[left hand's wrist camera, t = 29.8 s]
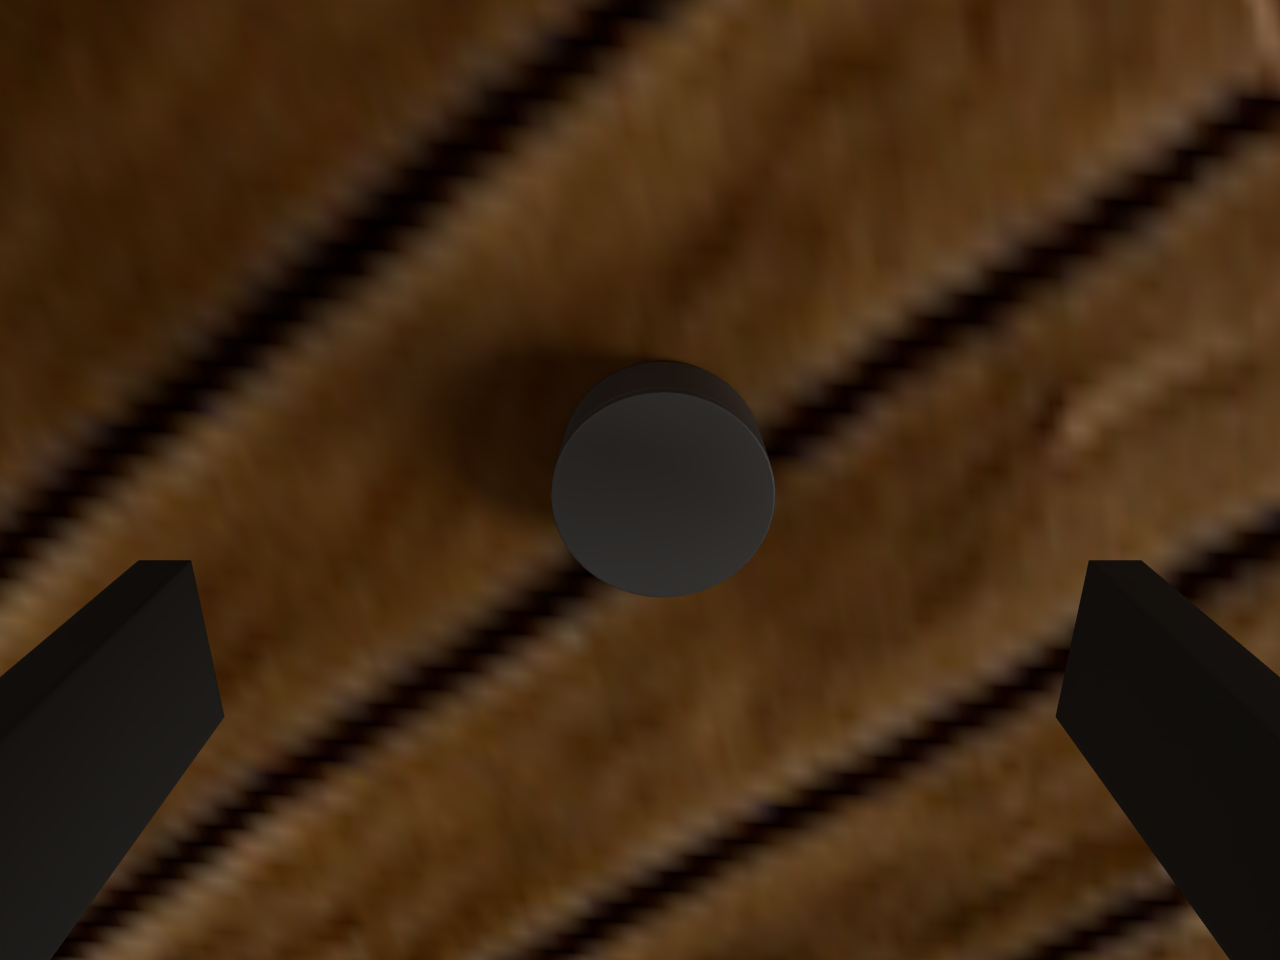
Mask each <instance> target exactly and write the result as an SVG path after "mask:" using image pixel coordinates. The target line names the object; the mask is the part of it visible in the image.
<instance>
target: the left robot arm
mask: <svg viewBox="0 0 1280 960" xmlns="http://www.w3.org/2000/svg"><path fill="white" fill-rule="evenodd" d="M223 718H224V713H223V708H222V703H221V699H220V694H219V689H218V685H217V680H216V675H215V671H214V666H213V661H212V656H211V652H210V647H209V642H208V638H207V633H206V628H205V624H204V619H203V614H202V609H201V605H200V600H199V595H198V591H197V586H196V581H195V577H194V572H193V567H192V562H191V560H139V561H137V562H136V563H135V564H134V565H133V566H131V567H130V568H129V569H128V570H127V571H126V572H124V573H123V574H122V575H121V576H120V577H118V578H117V579H116V580H115V581H114V582H112V583H111V584H110V585H109V586H108V587H107V588H105V589H104V590H103V591H102V592H101V593H99V594H98V595H97V596H96V597H95V598H94V599H92V600H91V601H90V602H89V603H88V604H86V605H85V606H84V607H83V608H82V609H80V610H79V611H78V612H77V613H76V614H75V615H73V616H72V617H71V618H70V619H69V620H67V621H66V622H65V623H64V624H63V625H62V626H60V627H59V628H58V629H57V630H56V631H54V632H53V633H52V634H51V635H50V636H48V637H47V638H46V639H45V640H44V641H43V642H41V643H40V644H39V645H38V646H37V647H35V648H34V649H33V650H32V651H31V652H30V653H28V654H27V655H26V656H25V657H24V658H22V659H21V660H20V661H19V662H18V663H16V664H15V665H14V666H13V667H12V668H11V669H9V670H8V671H7V672H6V673H5V674H3V675H2V676H1V677H0V960H50V959H51V958H52V956H53V955H54V954H55V952H56V951H57V949H58V948H59V947H60V945H61V944H62V942H63V941H64V940H65V938H66V937H67V935H68V934H69V933H70V931H71V930H72V929H73V927H74V926H75V924H76V923H77V922H78V920H79V919H80V917H81V916H82V915H83V913H84V912H85V910H86V909H87V908H88V906H89V905H90V903H91V902H92V901H93V899H94V898H95V896H96V895H97V894H98V892H99V891H100V889H101V888H102V887H103V885H104V884H105V883H106V881H107V880H108V878H109V877H110V876H111V874H112V873H113V871H114V870H115V869H116V867H117V866H118V864H119V863H120V862H121V860H122V859H123V857H124V856H125V855H126V853H127V852H128V850H129V849H130V848H131V846H132V845H133V843H134V842H135V841H136V839H137V838H138V837H139V835H140V834H141V832H142V831H143V830H144V828H145V827H146V825H147V824H148V823H149V821H150V820H151V818H152V817H153V816H154V814H155V813H156V811H157V810H158V809H159V807H160V806H161V804H162V803H163V802H164V800H165V799H166V797H167V796H168V795H169V793H170V792H171V791H172V789H173V788H174V786H175V785H176V784H177V782H178V781H179V779H180V778H181V777H182V775H183V774H184V772H185V771H186V770H187V768H188V767H189V765H190V764H191V763H192V761H193V760H194V758H195V757H196V756H197V754H198V753H199V751H200V750H201V749H202V747H203V746H204V745H205V743H206V742H207V740H208V739H209V738H210V736H211V735H212V733H213V732H214V731H215V729H216V728H217V726H218V725H219V724H220V722H221V721H222V719H223ZM1056 718H1057V719H1058V721H1059V722H1060V724H1061V725H1062V726H1063V728H1064V729H1065V731H1066V732H1067V733H1068V735H1069V736H1070V738H1071V739H1072V740H1073V742H1074V743H1075V745H1076V746H1077V747H1078V749H1079V750H1080V751H1081V753H1082V754H1083V756H1084V757H1085V758H1086V760H1087V761H1088V763H1089V764H1090V765H1091V767H1092V768H1093V770H1094V771H1095V772H1096V774H1097V775H1098V777H1099V778H1100V779H1101V781H1102V782H1103V784H1104V785H1105V786H1106V788H1107V789H1108V791H1109V792H1110V793H1111V795H1112V796H1113V797H1114V799H1115V800H1116V802H1117V803H1118V804H1119V806H1120V807H1121V809H1122V810H1123V811H1124V813H1125V814H1126V816H1127V817H1128V818H1129V820H1130V821H1131V823H1132V824H1133V825H1134V827H1135V828H1136V830H1137V831H1138V832H1139V834H1140V835H1141V837H1142V838H1143V839H1144V841H1145V842H1146V843H1147V845H1148V846H1149V848H1150V849H1151V850H1152V852H1153V853H1154V855H1155V856H1156V857H1157V859H1158V860H1159V862H1160V863H1161V864H1162V866H1163V867H1164V869H1165V870H1166V871H1167V873H1168V874H1169V876H1170V877H1171V878H1172V880H1173V881H1174V883H1175V884H1176V885H1177V887H1178V888H1179V889H1180V891H1181V892H1182V894H1183V895H1184V896H1185V898H1186V899H1187V901H1188V902H1189V903H1190V905H1191V906H1192V908H1193V909H1194V910H1195V912H1196V913H1197V915H1198V916H1199V917H1200V919H1201V920H1202V922H1203V923H1204V924H1205V926H1206V927H1207V929H1208V930H1209V931H1210V933H1211V934H1212V935H1213V937H1214V938H1215V940H1216V941H1217V942H1218V944H1219V945H1220V947H1221V948H1222V949H1223V951H1224V952H1225V954H1226V955H1227V956H1228V958H1229V959H1230V960H1280V677H1279V676H1278V675H1277V674H1275V673H1274V672H1273V671H1272V670H1271V669H1269V668H1268V667H1267V666H1266V665H1265V664H1264V663H1262V662H1261V661H1260V660H1259V659H1258V658H1256V657H1255V656H1254V655H1253V654H1252V653H1250V652H1249V651H1248V650H1247V649H1246V648H1245V647H1243V646H1242V645H1241V644H1240V643H1239V642H1237V641H1236V640H1235V639H1234V638H1233V637H1232V636H1230V635H1229V634H1228V633H1227V632H1226V631H1224V630H1223V629H1222V628H1221V627H1220V626H1218V625H1217V624H1216V623H1215V622H1214V621H1213V620H1211V619H1210V618H1209V617H1208V616H1207V615H1205V614H1204V613H1203V612H1202V611H1201V610H1200V609H1198V608H1197V607H1196V606H1195V605H1194V604H1192V603H1191V602H1190V601H1189V600H1188V599H1186V598H1185V597H1184V596H1183V595H1182V594H1181V593H1179V592H1178V591H1177V590H1176V589H1175V588H1173V587H1172V586H1171V585H1170V584H1169V583H1168V582H1166V581H1165V580H1164V579H1163V578H1162V577H1160V576H1159V575H1158V574H1157V573H1156V572H1154V571H1153V570H1152V569H1151V568H1150V567H1149V566H1147V565H1146V564H1145V563H1144V562H1143V561H1141V560H1089V562H1088V567H1087V572H1086V577H1085V581H1084V586H1083V591H1082V595H1081V600H1080V605H1079V609H1078V614H1077V619H1076V624H1075V628H1074V633H1073V638H1072V642H1071V647H1070V652H1069V656H1068V661H1067V666H1066V671H1065V675H1064V680H1063V685H1062V689H1061V694H1060V699H1059V703H1058V708H1057V713H1056Z"/></svg>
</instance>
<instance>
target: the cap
mask: <svg viewBox="0 0 1280 960" xmlns="http://www.w3.org/2000/svg"><path fill="white" fill-rule="evenodd" d="M551 502H552V511H553V515H554V519H555V523H556V526H557V529H558V531H559V534H560V536H561V538H562V540H563V541H564V543H565V545H566V547H567V548H568V550H569V551H570V552H571V554H572V555H573V556H574V557H575V559H576V560H577V561H578V562H579V563H580V564H581V565H582V566H583V567H584V568H585V569H586V570H588V571H589V572H590V573H592V574H593V575H594V576H595V577H597V578H599V579H600V580H602V581H604V582H605V583H607V584H609V585H611V586H613V587H616V588H618V589H620V590H623V591H626V592H629V593H633V594H637V595H643V596H649V597H677V596H683V595H689V594H693V593H696V592H700V591H703V590H705V589H708V588H710V587H713V586H715V585H717V584H719V583H720V582H722V581H724V580H726V579H727V578H729V577H730V576H732V575H733V574H734V573H736V572H737V571H738V570H739V569H741V568H742V567H743V566H744V565H745V564H746V563H747V562H748V561H749V560H750V558H751V557H752V556H753V555H754V554H755V552H756V551H757V550H758V548H759V546H760V545H761V543H762V542H763V540H764V538H765V536H766V534H767V531H768V529H769V527H770V524H771V520H772V517H773V512H774V506H775V483H774V475H773V471H772V468H771V464H770V461H769V458H768V455H767V452H766V449H765V446H764V443H763V440H762V437H761V434H760V431H759V428H758V425H757V423H756V421H755V418H754V416H753V414H752V412H751V410H750V409H749V407H748V406H747V404H746V403H745V401H744V400H743V399H742V398H741V396H740V395H739V394H738V393H737V392H736V391H735V390H734V389H733V388H732V387H731V386H729V385H728V384H727V383H726V382H724V381H723V380H721V379H720V378H719V377H717V376H716V375H714V374H712V373H710V372H708V371H706V370H703V369H701V368H698V367H695V366H692V365H688V364H683V363H678V362H666V361H662V362H648V363H643V364H637V365H634V366H631V367H628V368H624V369H622V370H620V371H618V372H616V373H614V374H611V375H610V376H608V377H607V378H605V379H604V380H602V381H601V382H599V383H598V384H597V385H596V386H595V387H593V388H592V389H591V390H590V391H589V392H588V393H587V394H586V395H585V397H584V398H583V399H582V400H581V401H580V403H579V404H578V406H577V407H576V409H575V410H574V412H573V414H572V416H571V418H570V420H569V422H568V425H567V428H566V431H565V435H564V438H563V442H562V445H561V448H560V452H559V455H558V459H557V462H556V466H555V469H554V474H553V479H552V485H551Z"/></svg>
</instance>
